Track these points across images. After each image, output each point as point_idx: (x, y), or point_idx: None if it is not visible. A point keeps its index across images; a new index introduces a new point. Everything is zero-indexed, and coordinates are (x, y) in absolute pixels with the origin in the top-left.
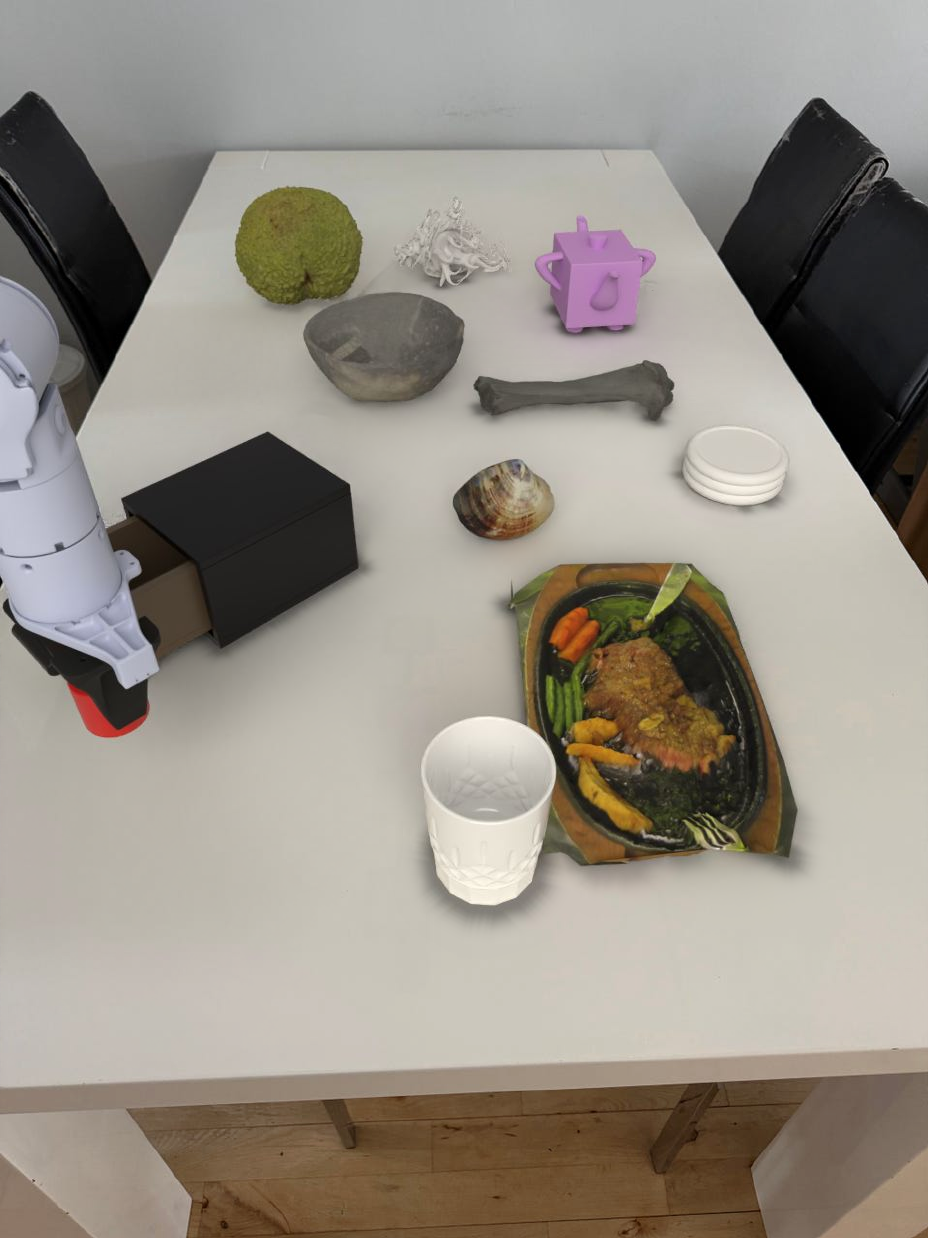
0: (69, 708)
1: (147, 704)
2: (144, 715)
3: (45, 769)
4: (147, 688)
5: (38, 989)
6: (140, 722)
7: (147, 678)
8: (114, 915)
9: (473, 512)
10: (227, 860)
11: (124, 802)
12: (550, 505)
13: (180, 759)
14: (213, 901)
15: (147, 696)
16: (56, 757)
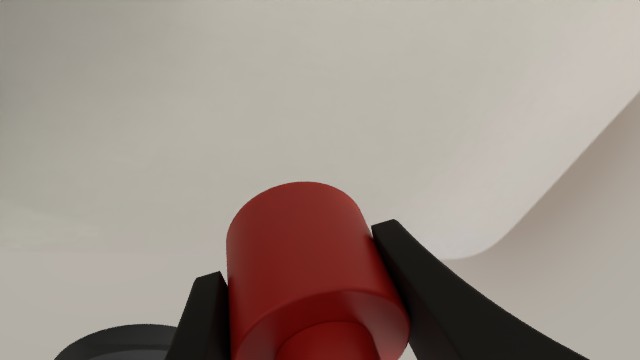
0: (12, 181)
1: (331, 196)
2: (351, 202)
3: (143, 219)
4: (439, 262)
5: (429, 241)
6: (358, 208)
7: (483, 295)
8: (404, 176)
9: None
10: (425, 40)
11: (253, 141)
12: None
13: (206, 47)
14: (464, 76)
15: (415, 242)
16: (125, 206)
